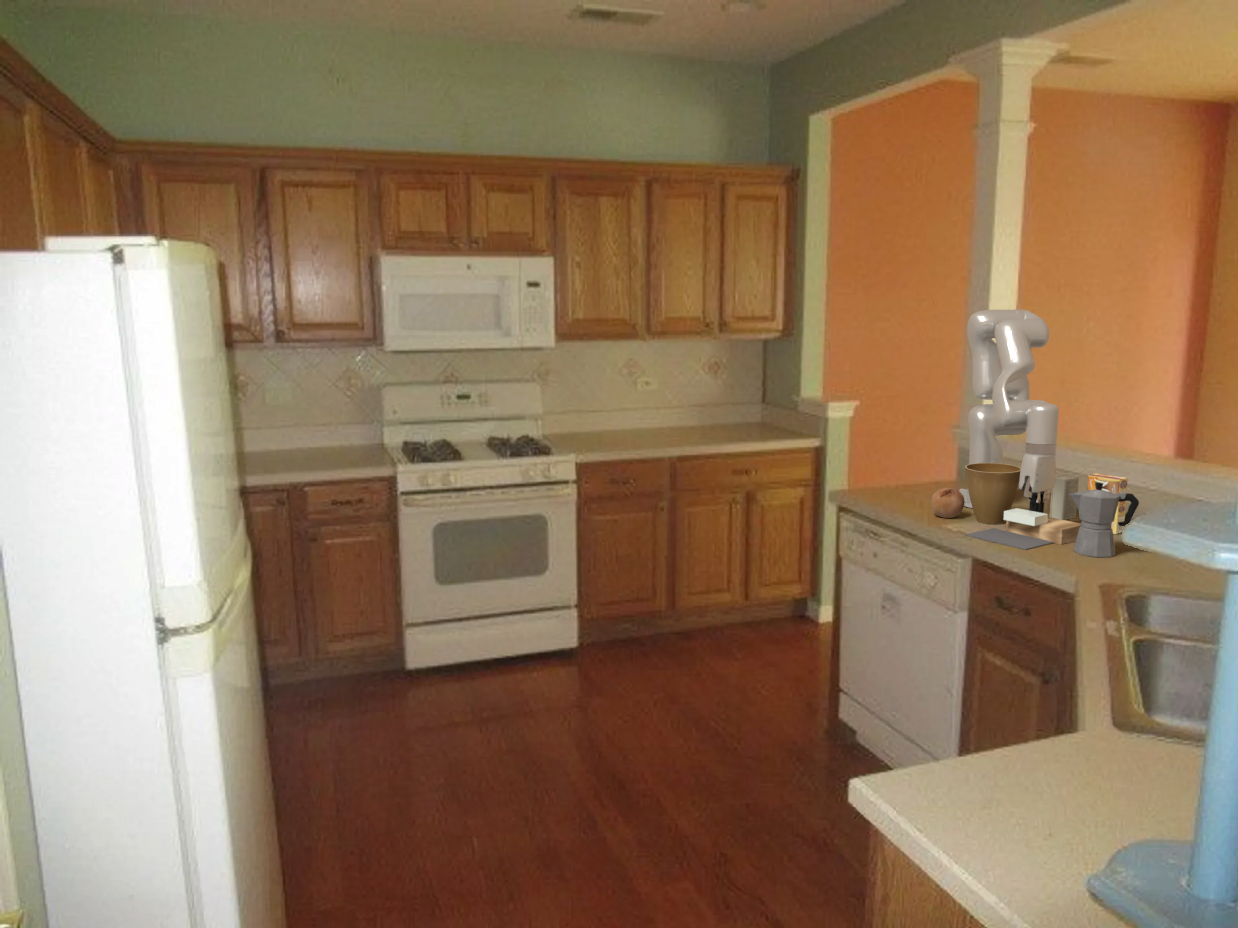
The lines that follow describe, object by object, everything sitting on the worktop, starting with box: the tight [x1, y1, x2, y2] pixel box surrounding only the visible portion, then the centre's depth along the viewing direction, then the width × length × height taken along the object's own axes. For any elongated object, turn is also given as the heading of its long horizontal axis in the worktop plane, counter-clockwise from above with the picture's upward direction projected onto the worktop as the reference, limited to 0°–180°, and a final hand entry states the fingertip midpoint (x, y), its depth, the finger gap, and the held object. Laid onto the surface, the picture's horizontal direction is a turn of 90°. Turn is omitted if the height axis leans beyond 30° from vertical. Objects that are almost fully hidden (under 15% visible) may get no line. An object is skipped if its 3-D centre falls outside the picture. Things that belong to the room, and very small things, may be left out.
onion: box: [930, 487, 965, 519], centre depth 261 cm, size 10×9×10 cm
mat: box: [965, 527, 1055, 551], centre depth 236 cm, size 18×12×1 cm, turn 32°
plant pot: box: [964, 462, 1021, 525], centre depth 254 cm, size 15×15×16 cm
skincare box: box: [1049, 474, 1080, 521], centre depth 257 cm, size 6×4×12 cm
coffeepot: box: [1069, 482, 1140, 559], centre depth 220 cm, size 15×9×18 cm, turn 69°
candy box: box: [1086, 472, 1128, 535], centre depth 242 cm, size 9×4×15 cm, turn 33°
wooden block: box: [1005, 516, 1081, 546], centre depth 238 cm, size 16×10×4 cm, turn 32°
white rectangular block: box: [1003, 507, 1049, 526], centre depth 238 cm, size 9×6×2 cm, turn 33°
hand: (1036, 515), depth 241 cm, fingers closed
